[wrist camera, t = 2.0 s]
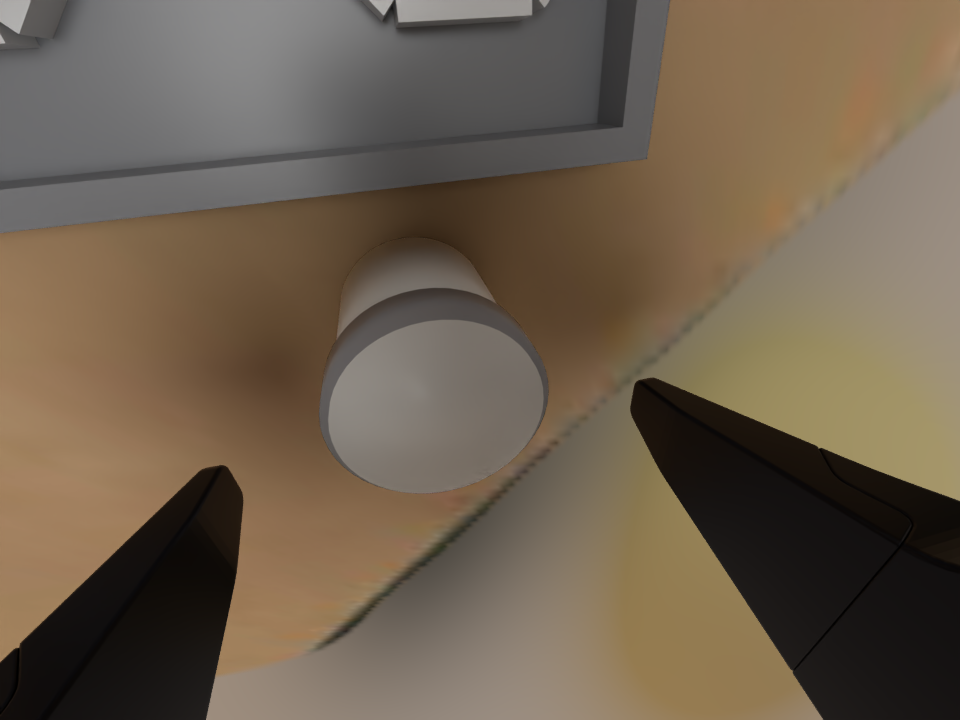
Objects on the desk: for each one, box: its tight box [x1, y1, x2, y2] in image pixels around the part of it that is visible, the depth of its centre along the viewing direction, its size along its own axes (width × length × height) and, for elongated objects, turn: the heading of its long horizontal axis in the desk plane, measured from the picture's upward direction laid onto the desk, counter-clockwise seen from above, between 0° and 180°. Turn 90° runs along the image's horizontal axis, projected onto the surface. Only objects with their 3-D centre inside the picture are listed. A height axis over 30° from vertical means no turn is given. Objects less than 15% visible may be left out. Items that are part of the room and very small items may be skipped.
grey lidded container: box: [319, 237, 549, 494], centre depth 12 cm, size 5×5×6 cm
